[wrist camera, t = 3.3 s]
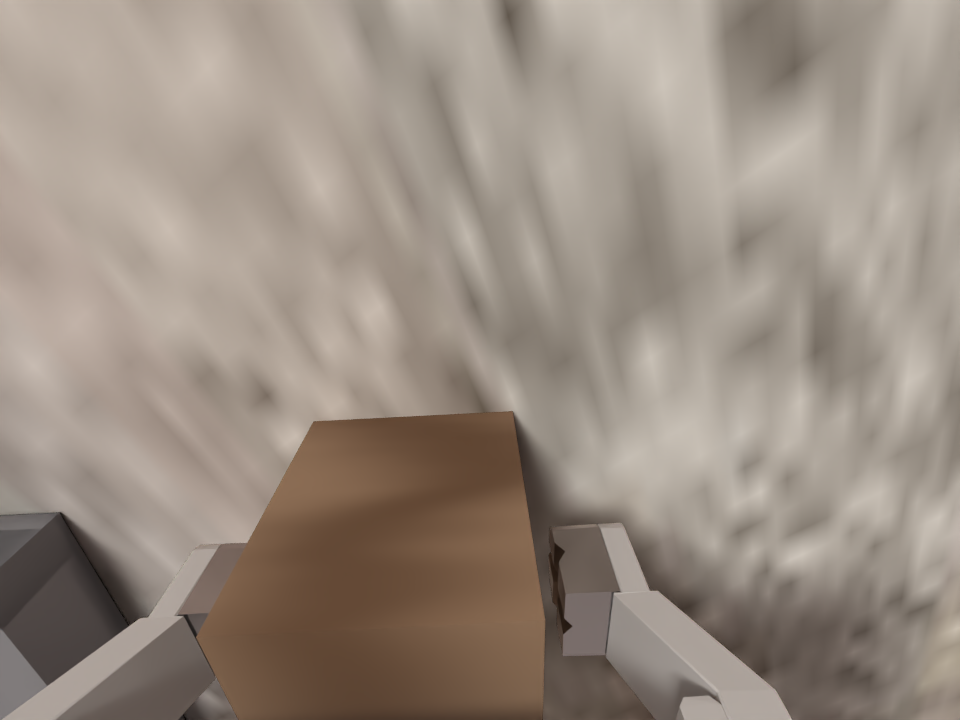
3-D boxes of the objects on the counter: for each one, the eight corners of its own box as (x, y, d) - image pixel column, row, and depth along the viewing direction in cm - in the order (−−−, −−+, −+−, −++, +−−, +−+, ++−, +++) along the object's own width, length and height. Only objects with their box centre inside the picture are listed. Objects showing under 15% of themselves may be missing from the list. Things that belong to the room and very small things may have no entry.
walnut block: (512, 409, 10) (545, 620, 6) (515, 550, 12) (541, 788, 8) (314, 419, 10) (195, 637, 6) (348, 559, 12) (280, 800, 8)
